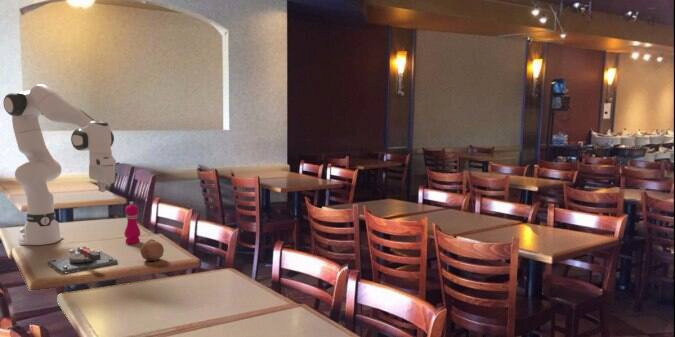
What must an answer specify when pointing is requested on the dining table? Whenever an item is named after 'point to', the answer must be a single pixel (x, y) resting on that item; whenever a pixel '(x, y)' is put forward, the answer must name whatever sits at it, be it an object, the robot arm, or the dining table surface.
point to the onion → (152, 250)
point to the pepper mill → (132, 225)
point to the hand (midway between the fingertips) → (101, 191)
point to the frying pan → (83, 255)
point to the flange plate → (67, 266)
